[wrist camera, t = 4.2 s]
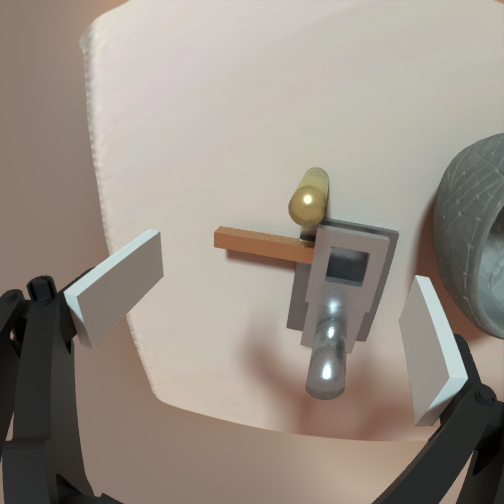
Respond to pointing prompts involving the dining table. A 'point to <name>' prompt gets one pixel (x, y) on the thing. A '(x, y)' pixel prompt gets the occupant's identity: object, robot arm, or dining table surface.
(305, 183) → the gold rounded cylinder
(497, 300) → the bowl
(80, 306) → the robot arm
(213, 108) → the dining table surface
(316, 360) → the grey lever block
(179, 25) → the dining table surface
